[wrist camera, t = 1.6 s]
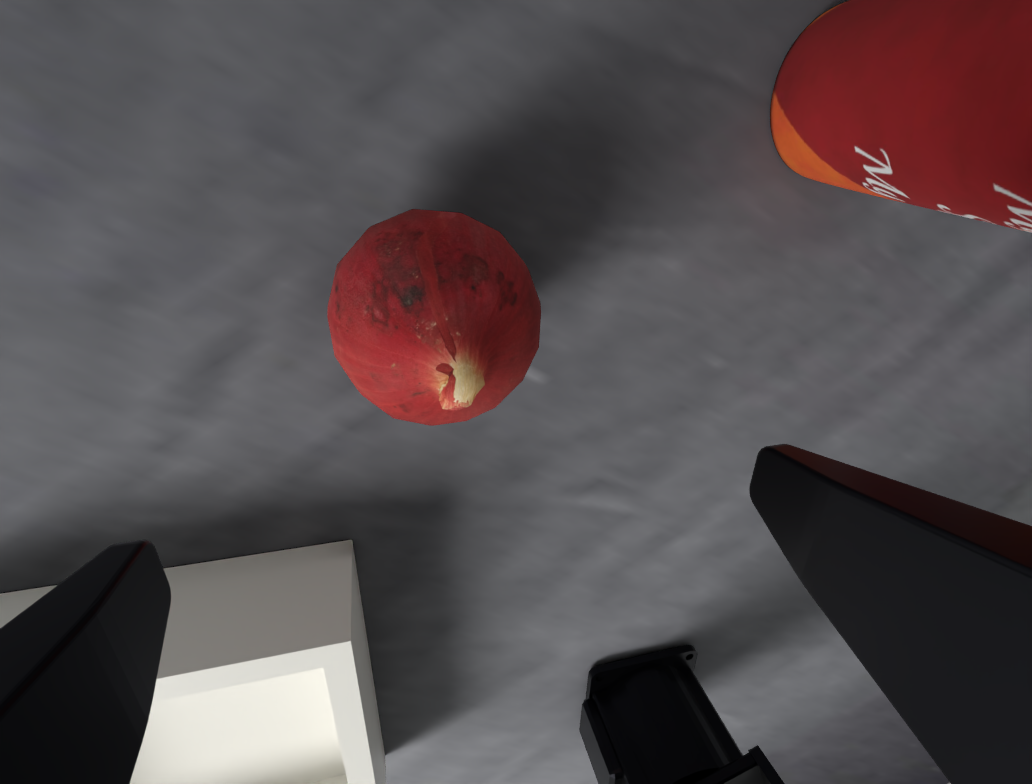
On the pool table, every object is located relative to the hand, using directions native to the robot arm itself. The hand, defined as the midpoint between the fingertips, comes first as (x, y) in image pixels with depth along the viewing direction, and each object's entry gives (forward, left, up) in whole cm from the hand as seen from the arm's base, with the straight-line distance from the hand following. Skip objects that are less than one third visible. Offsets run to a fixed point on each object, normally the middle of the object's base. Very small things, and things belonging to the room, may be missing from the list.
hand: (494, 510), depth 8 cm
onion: (0, 0, -12) cm, 12 cm away
